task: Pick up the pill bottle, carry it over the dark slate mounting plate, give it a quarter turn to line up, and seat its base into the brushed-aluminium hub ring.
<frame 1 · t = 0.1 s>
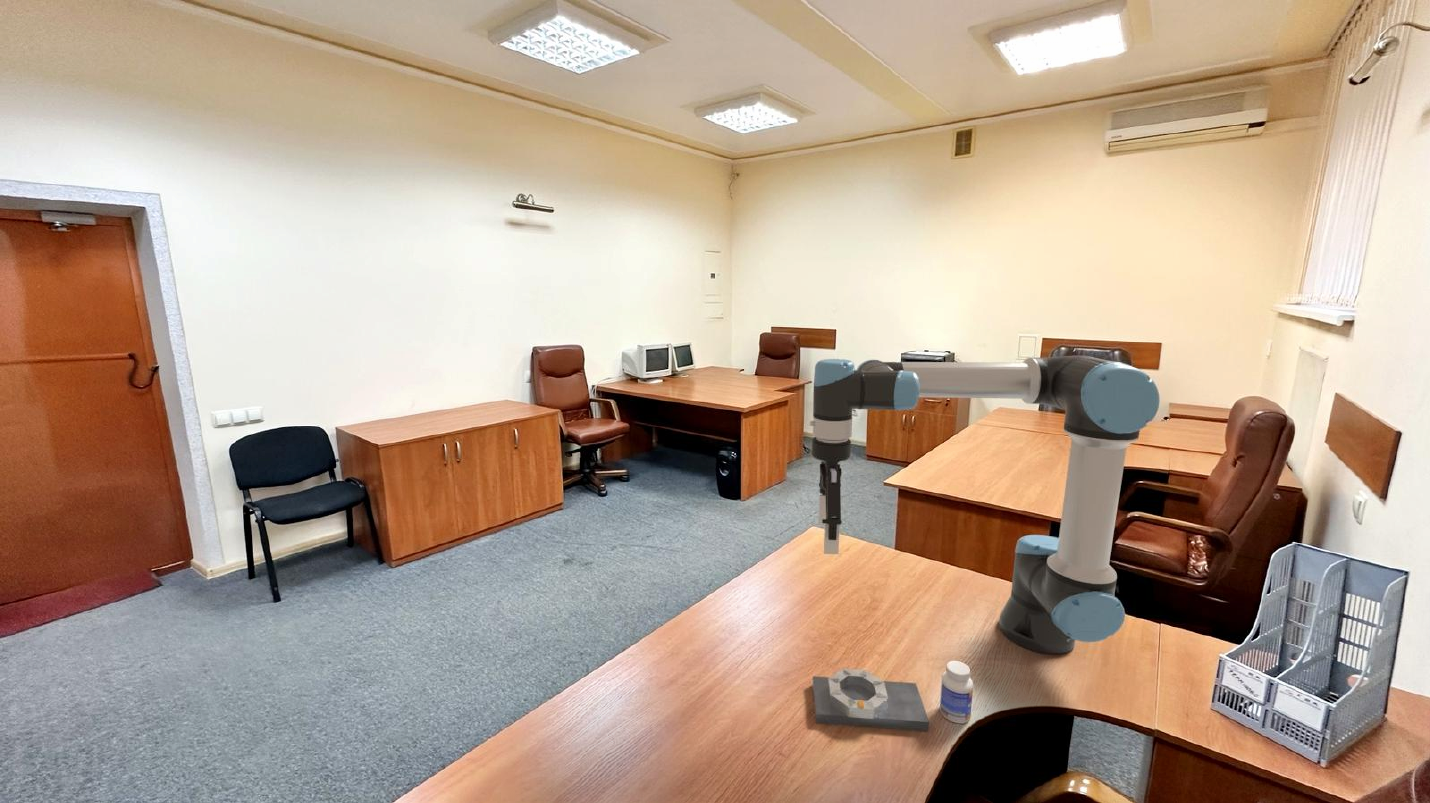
hand: (827, 537, 114), 28 cm above the table, fingers open, 13 cm apart
hub plate: (867, 706, 106), on the table
pill bottle: (954, 714, 104), on the table
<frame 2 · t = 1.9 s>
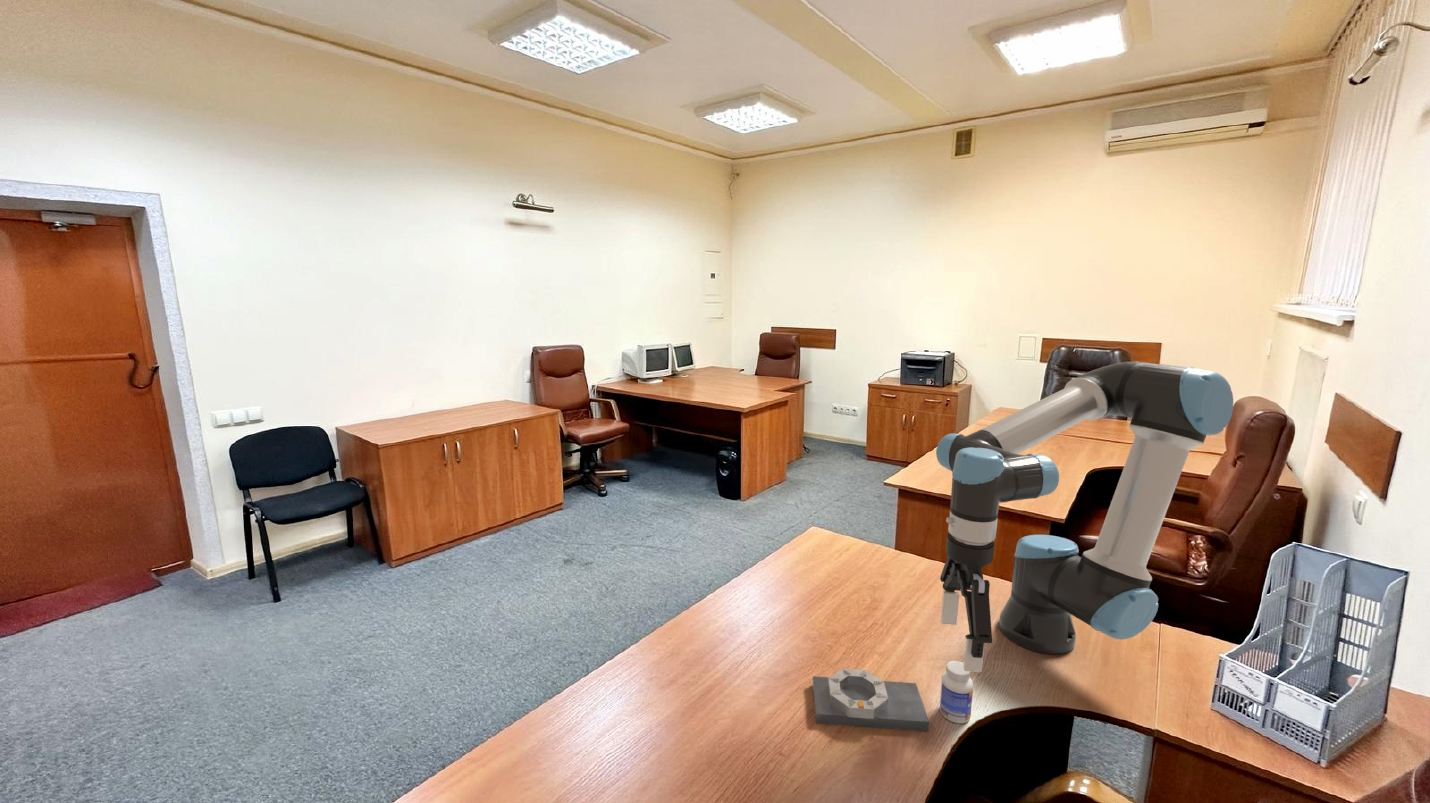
hand: (959, 645, 101), 14 cm above the table, fingers open, 13 cm apart
nothing on the table moved.
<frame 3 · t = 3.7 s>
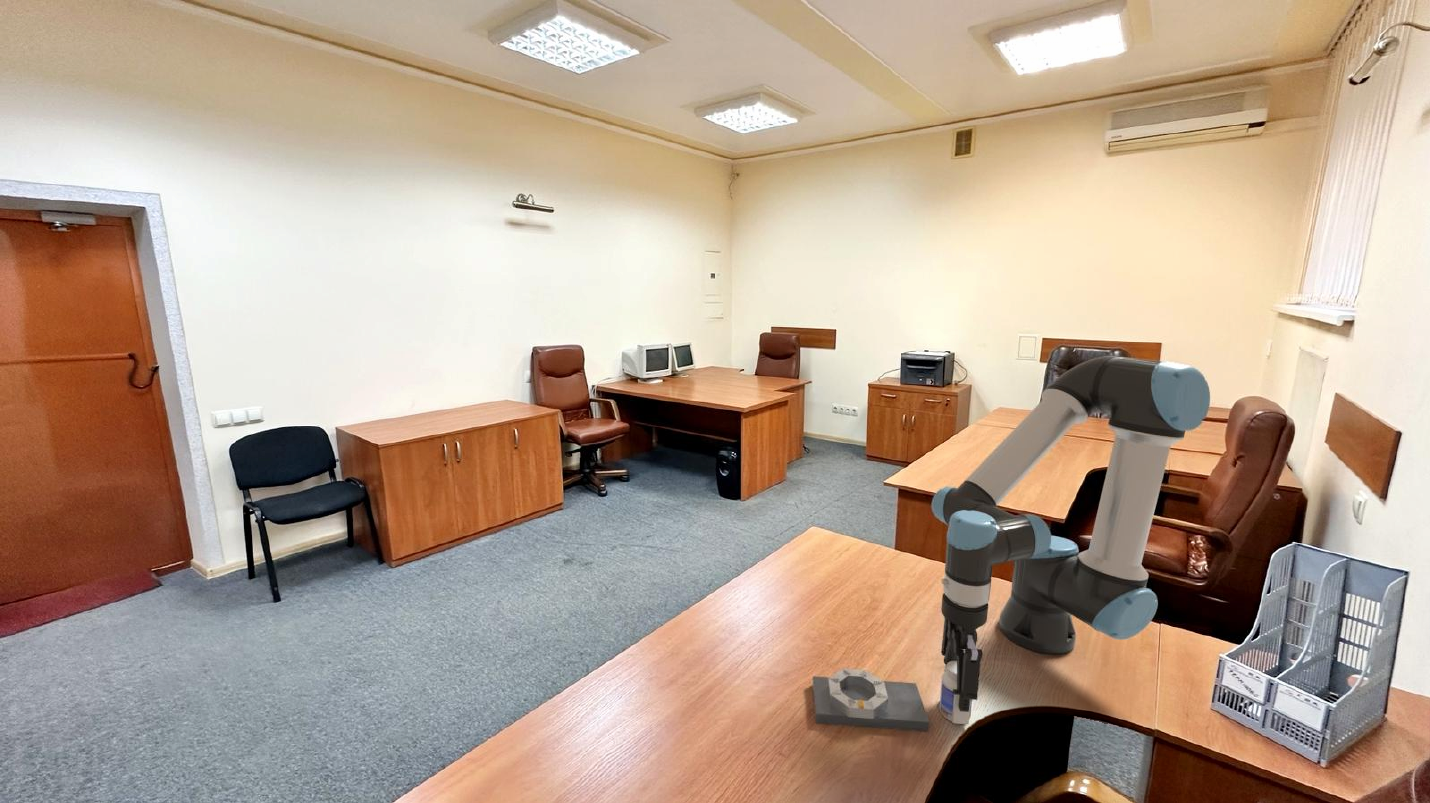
hand: (954, 709, 104), 1 cm above the table, fingers closed on pill bottle, 5 cm apart
pill bottle: (954, 713, 104), on the table, touching gripper
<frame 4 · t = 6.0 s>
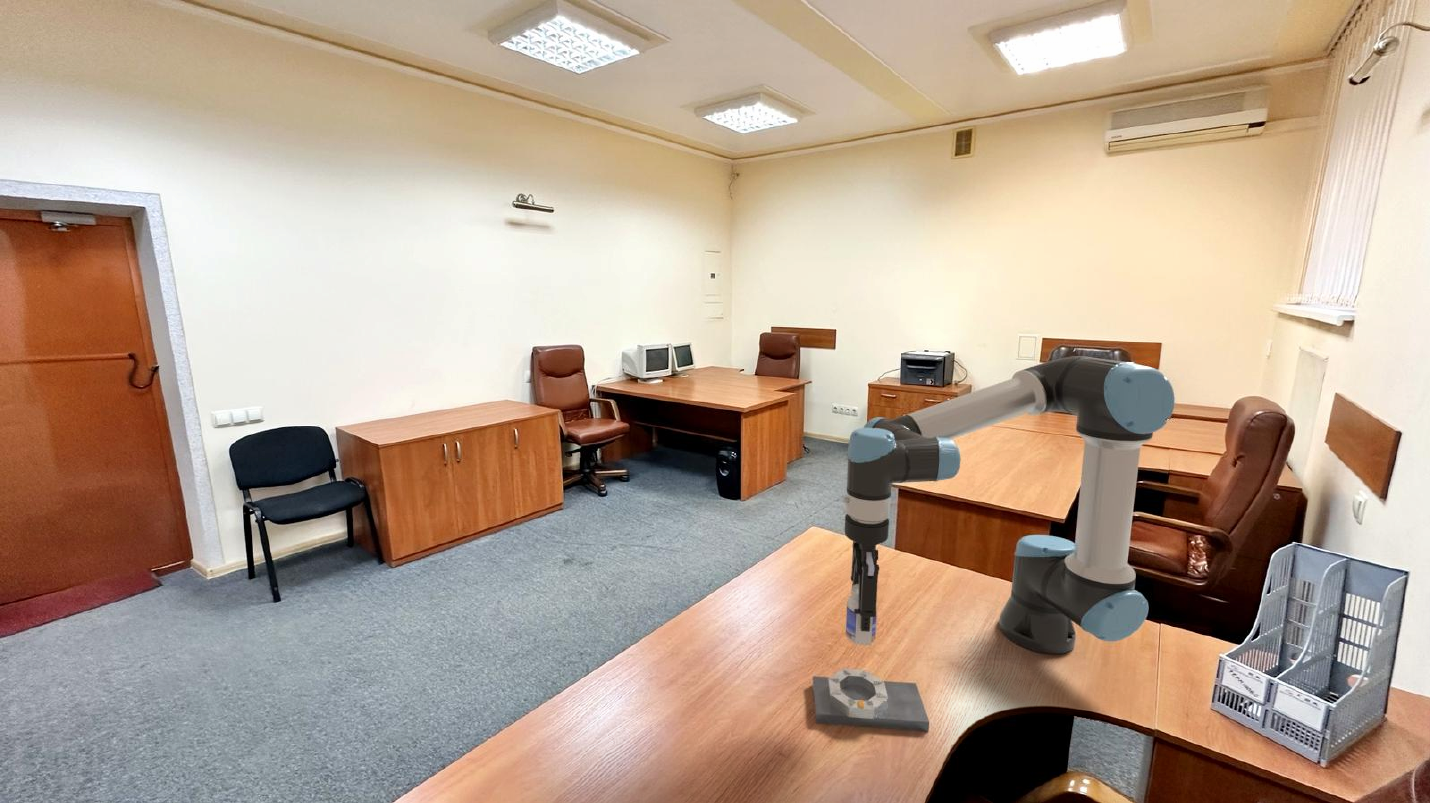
hand: (860, 632, 103), 16 cm above the table, fingers closed on pill bottle, 5 cm apart
pill bottle: (860, 637, 103), point 15 cm above the table, touching gripper
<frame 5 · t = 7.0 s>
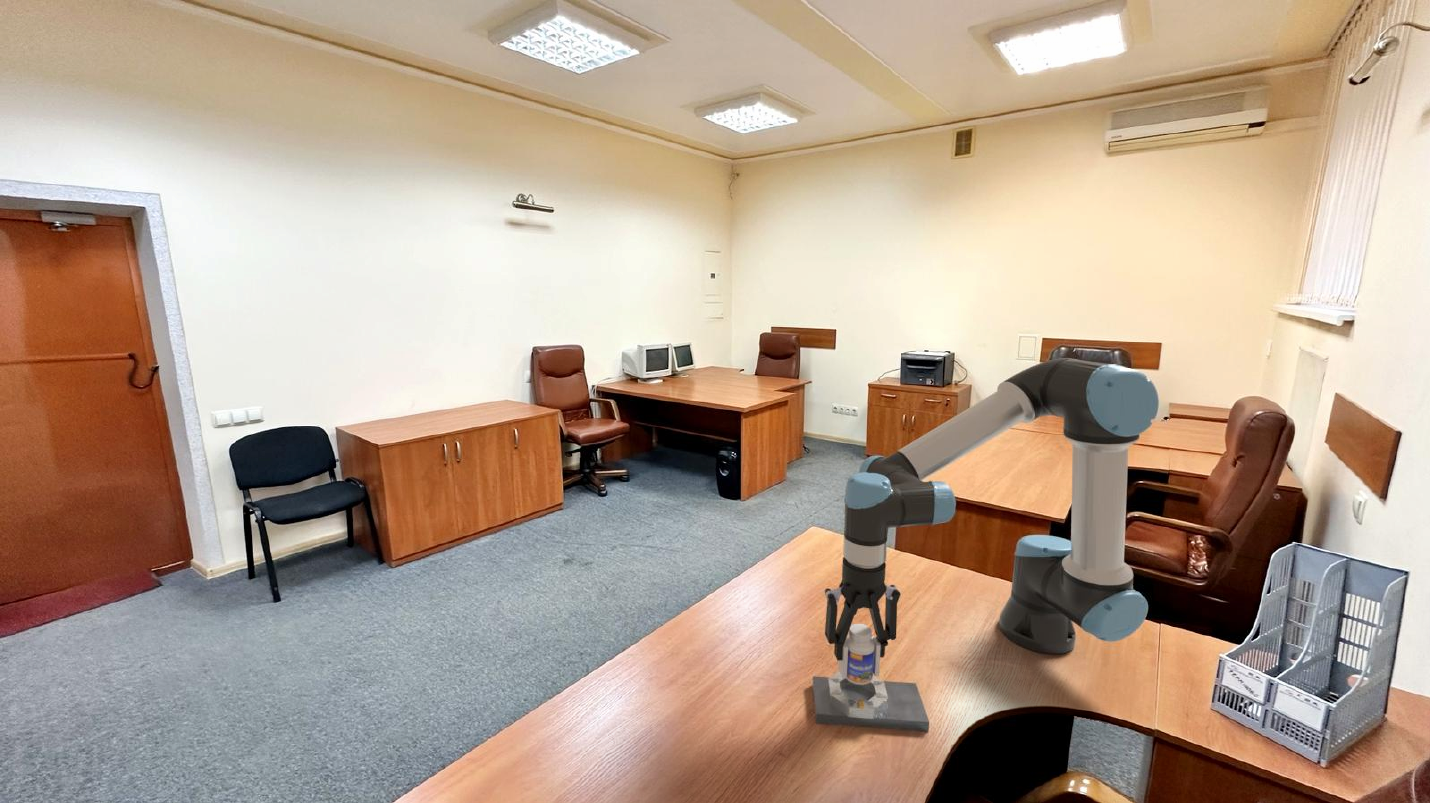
hand: (858, 671, 105), 7 cm above the table, fingers closed on pill bottle, 5 cm apart
pill bottle: (858, 676, 105), point 6 cm above the table, touching gripper
when the fingers open (4 cm above the table, at t = 8.3 s): pill bottle stays where it is, point 3 cm above the table.
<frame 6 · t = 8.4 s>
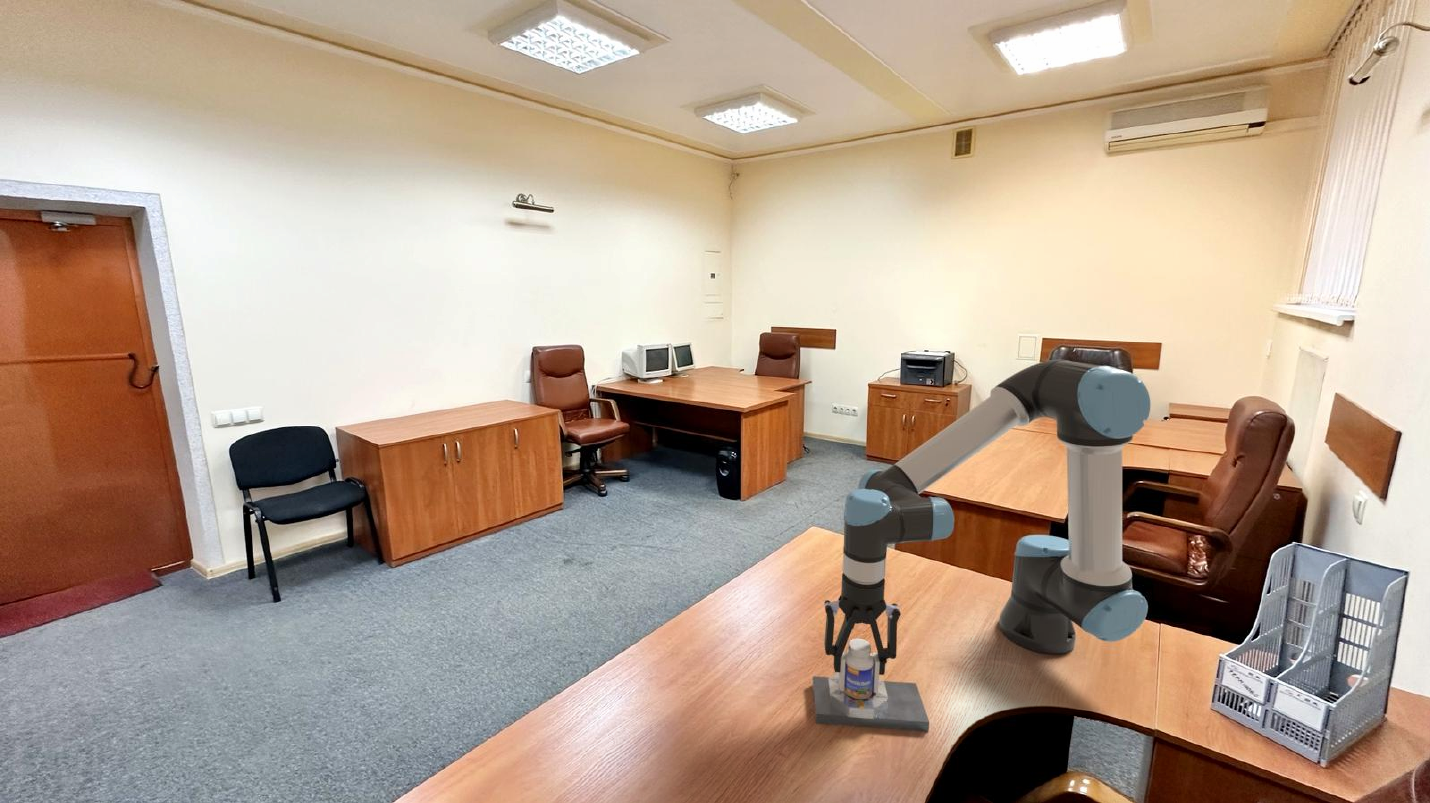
hand: (857, 686, 105), 4 cm above the table, fingers open, 5 cm apart
pill bottle: (857, 691, 106), point 3 cm above the table
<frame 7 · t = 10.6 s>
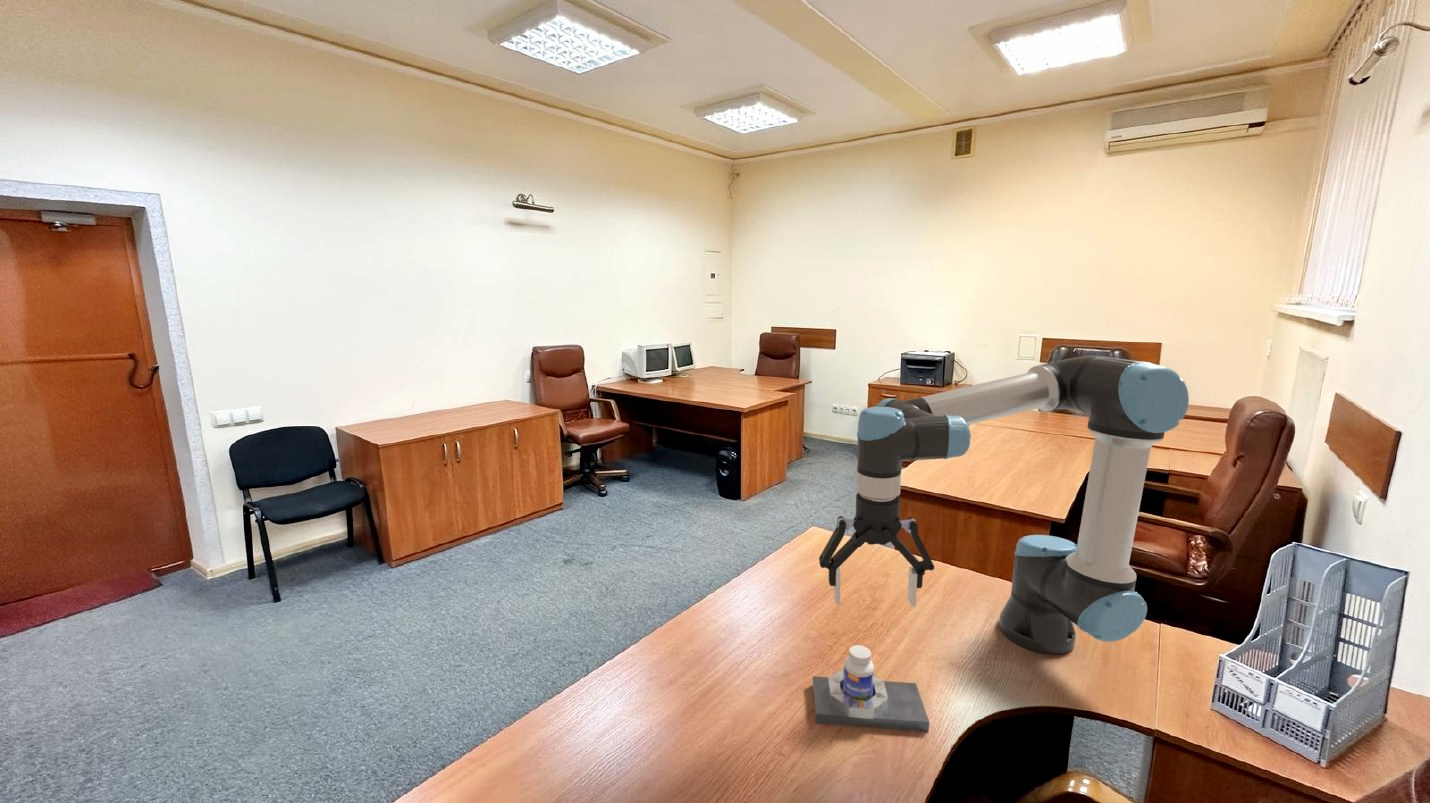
hand: (874, 601, 104), 21 cm above the table, fingers open, 13 cm apart
pill bottle: (857, 697, 106), point 2 cm above the table, touching hub plate
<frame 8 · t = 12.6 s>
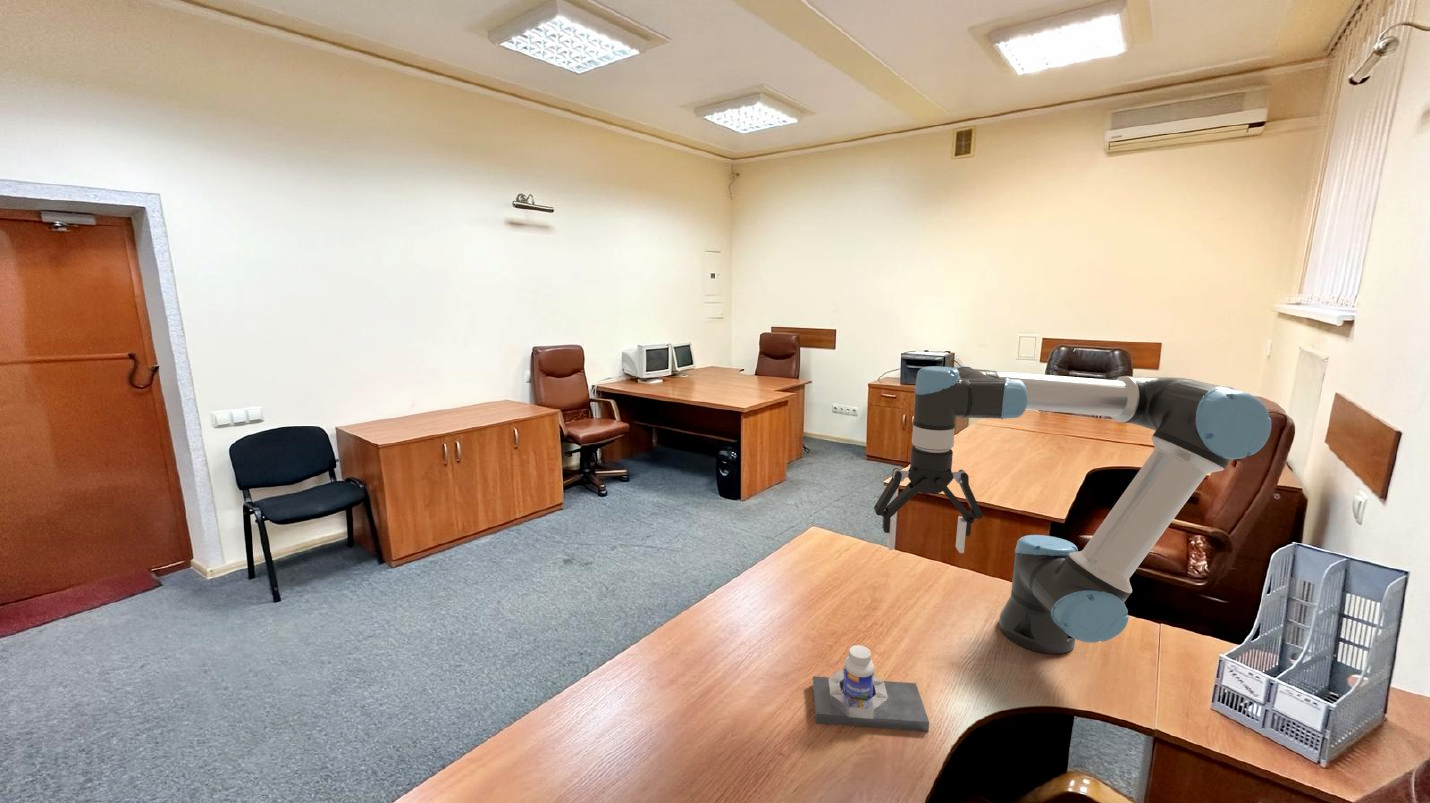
hand: (924, 548, 112), 27 cm above the table, fingers open, 13 cm apart
nothing on the table moved.
at the end: pill bottle 0.1 cm from the target spot on the hub plate, point 1.8 cm above the hub plate's base; pill bottle tilted 0°; the gripper is holding nothing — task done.
